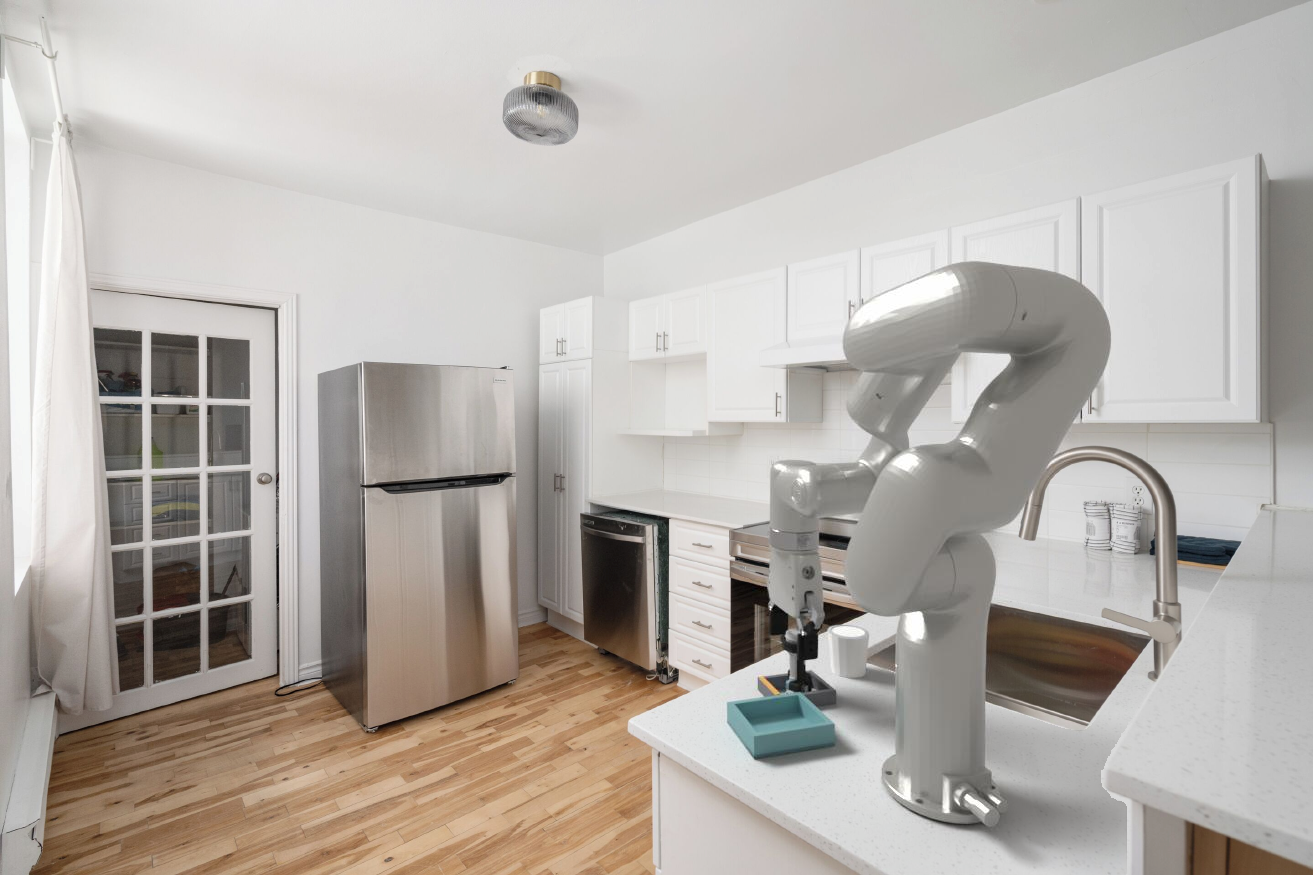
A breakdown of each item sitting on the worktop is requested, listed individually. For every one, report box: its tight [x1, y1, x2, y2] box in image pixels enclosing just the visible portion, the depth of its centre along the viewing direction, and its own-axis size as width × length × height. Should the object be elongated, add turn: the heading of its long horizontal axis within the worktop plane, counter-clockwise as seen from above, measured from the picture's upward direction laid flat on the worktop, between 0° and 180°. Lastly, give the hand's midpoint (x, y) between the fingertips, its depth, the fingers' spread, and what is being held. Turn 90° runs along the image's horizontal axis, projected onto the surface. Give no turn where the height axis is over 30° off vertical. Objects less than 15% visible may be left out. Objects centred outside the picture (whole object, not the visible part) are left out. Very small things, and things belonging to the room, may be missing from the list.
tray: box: [726, 692, 836, 760], centre depth 84 cm, size 10×12×3 cm
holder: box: [757, 669, 837, 707], centre depth 95 cm, size 8×10×2 cm
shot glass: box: [827, 624, 870, 679], centre depth 104 cm, size 7×7×7 cm
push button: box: [779, 627, 813, 694], centre depth 94 cm, size 7×5×10 cm
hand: (792, 646), depth 95 cm, fingers open, 9 cm apart
